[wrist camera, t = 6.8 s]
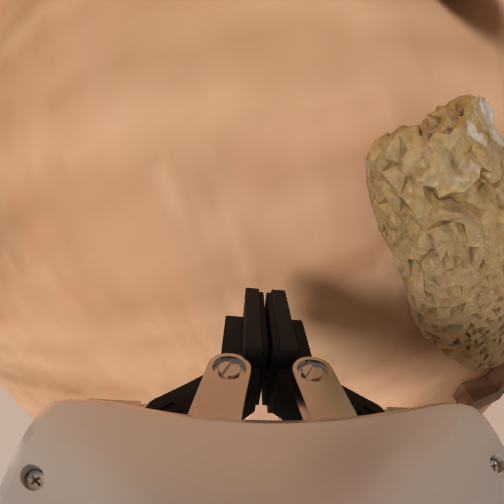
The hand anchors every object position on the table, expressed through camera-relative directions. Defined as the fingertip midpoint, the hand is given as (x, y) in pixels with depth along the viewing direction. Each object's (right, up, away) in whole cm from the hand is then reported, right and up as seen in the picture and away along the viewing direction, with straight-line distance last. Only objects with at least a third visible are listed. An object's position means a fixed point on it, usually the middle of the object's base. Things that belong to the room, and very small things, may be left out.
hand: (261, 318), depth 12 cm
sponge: (+14, +3, +3) cm, 15 cm away
